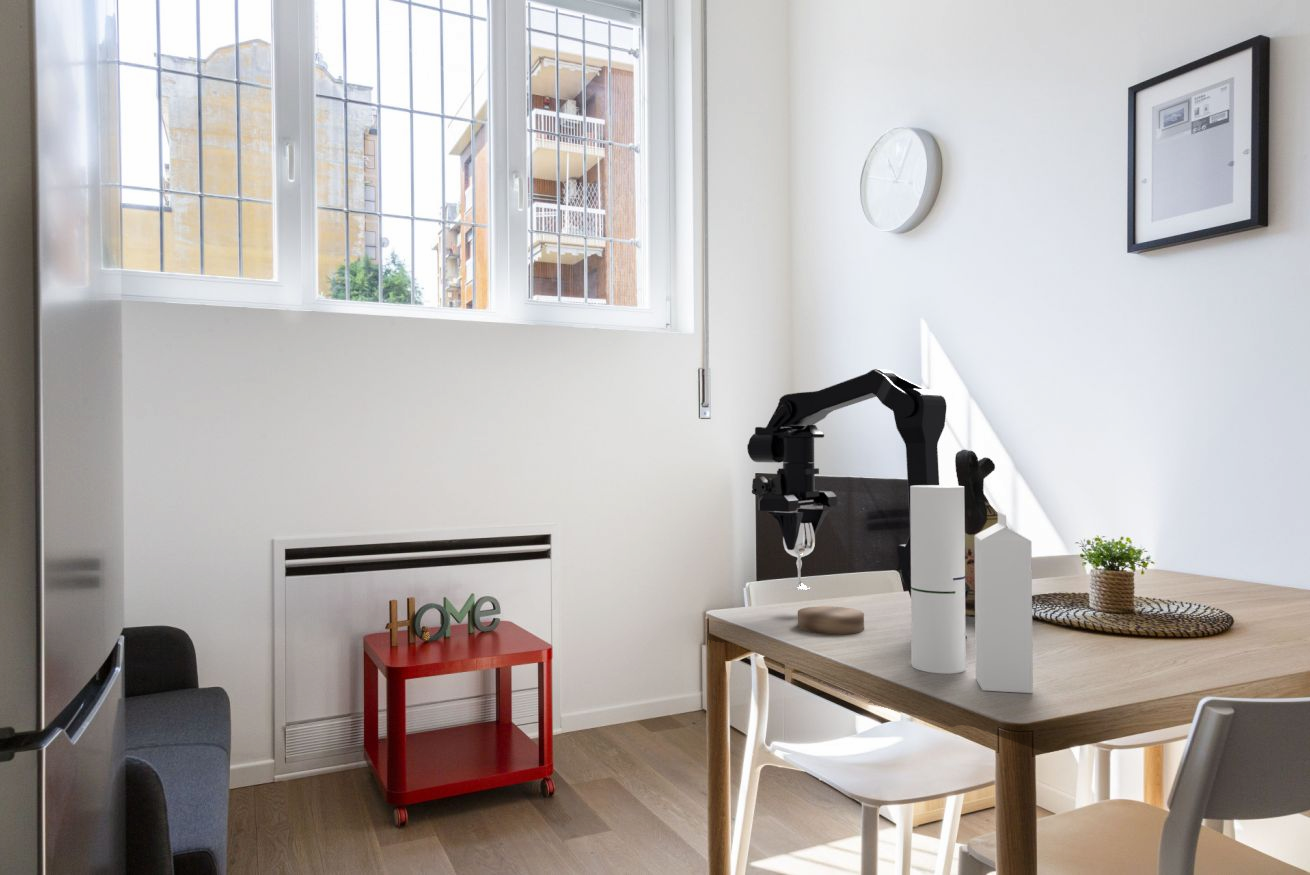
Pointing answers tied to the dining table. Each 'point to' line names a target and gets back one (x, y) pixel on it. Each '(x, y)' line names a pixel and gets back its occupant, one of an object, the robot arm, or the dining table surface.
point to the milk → (1003, 609)
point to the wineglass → (802, 550)
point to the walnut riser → (830, 620)
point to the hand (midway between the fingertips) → (799, 548)
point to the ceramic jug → (974, 511)
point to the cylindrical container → (938, 578)
